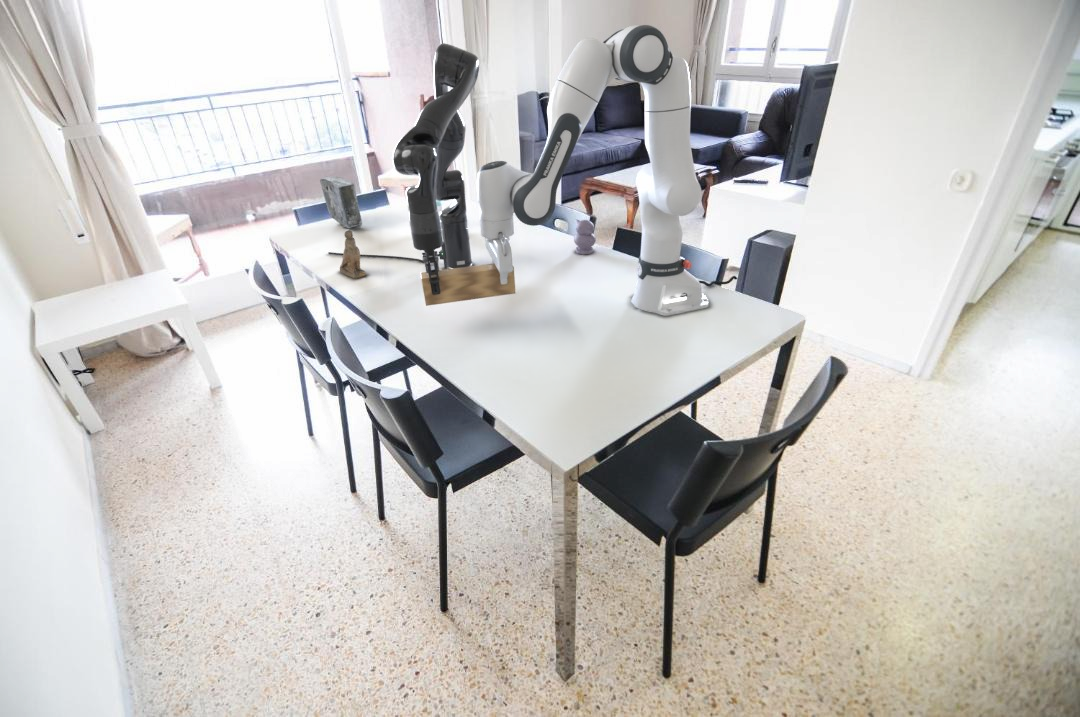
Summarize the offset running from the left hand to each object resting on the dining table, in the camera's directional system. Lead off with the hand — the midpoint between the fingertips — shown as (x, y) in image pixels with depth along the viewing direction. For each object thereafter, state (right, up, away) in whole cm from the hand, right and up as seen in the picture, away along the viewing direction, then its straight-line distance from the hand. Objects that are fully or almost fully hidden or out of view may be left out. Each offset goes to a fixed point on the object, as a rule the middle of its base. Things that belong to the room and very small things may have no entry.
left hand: (435, 290), depth 135 cm
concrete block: (-61, +43, +96) cm, 122 cm away
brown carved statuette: (-39, +12, +44) cm, 60 cm away
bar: (+9, -1, +4) cm, 10 cm away
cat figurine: (+46, +22, +55) cm, 75 cm away
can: (-17, +40, +88) cm, 99 cm away
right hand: (+17, +4, +3) cm, 18 cm away
